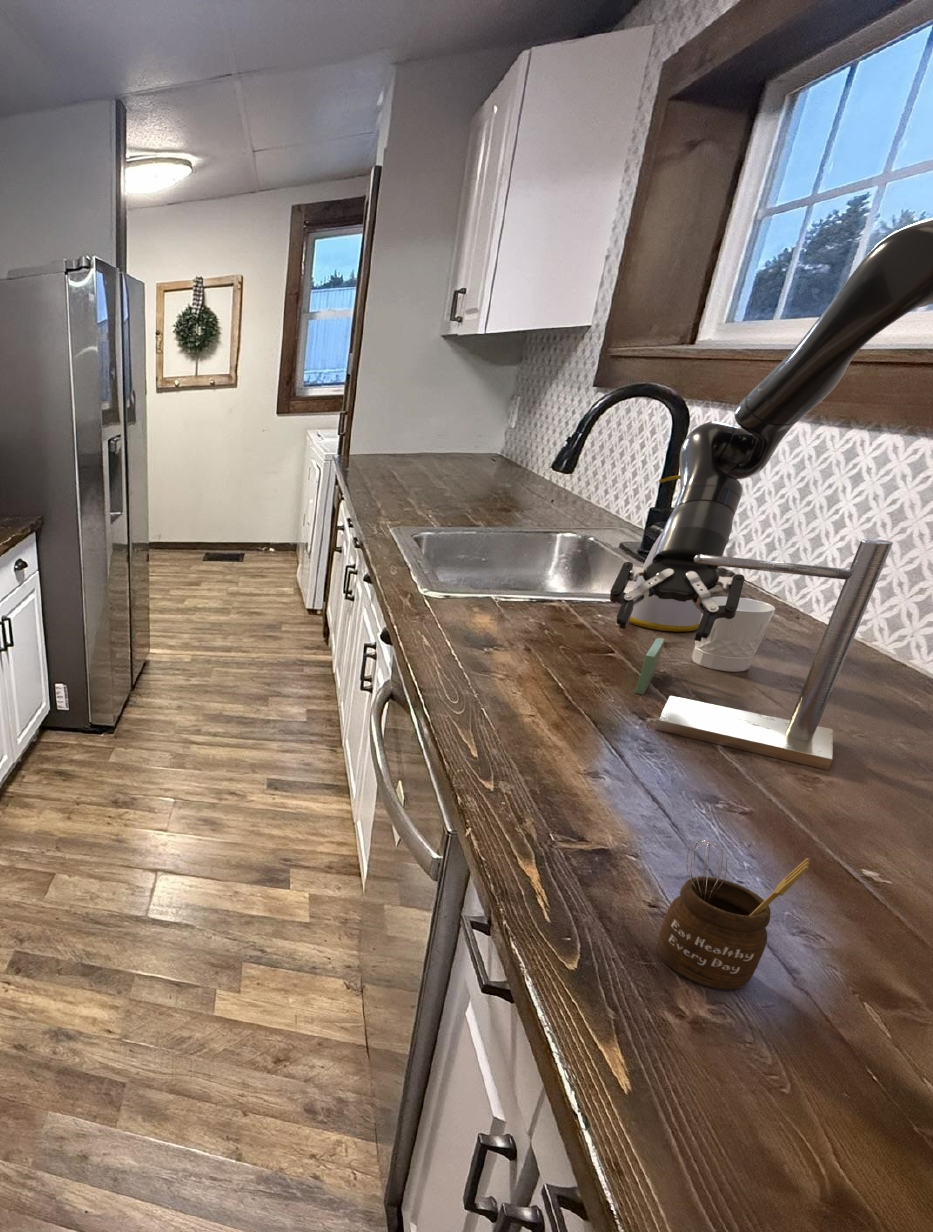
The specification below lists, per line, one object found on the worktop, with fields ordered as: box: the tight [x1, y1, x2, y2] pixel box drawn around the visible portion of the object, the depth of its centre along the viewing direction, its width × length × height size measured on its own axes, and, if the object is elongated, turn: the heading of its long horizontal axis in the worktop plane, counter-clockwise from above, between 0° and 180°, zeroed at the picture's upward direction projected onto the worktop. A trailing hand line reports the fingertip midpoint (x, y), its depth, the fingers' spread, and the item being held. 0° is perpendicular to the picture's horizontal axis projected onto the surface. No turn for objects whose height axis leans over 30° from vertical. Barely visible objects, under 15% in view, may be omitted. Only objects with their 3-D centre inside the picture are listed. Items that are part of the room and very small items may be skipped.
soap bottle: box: [628, 474, 710, 633], centre depth 126 cm, size 11×12×26 cm
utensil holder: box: [656, 840, 810, 991], centre depth 56 cm, size 6×6×12 cm
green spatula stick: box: [634, 637, 666, 695], centre depth 107 cm, size 1×6×12 cm
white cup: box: [691, 595, 776, 673], centre depth 111 cm, size 8×8×10 cm
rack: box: [654, 538, 894, 771], centre depth 88 cm, size 18×10×26 cm, turn 44°
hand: (659, 632), depth 104 cm, fingers open, 8 cm apart
